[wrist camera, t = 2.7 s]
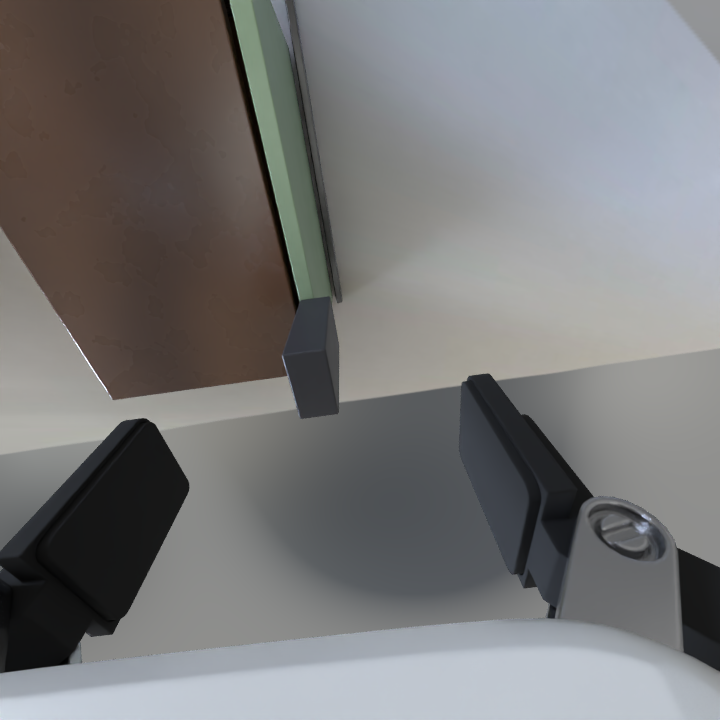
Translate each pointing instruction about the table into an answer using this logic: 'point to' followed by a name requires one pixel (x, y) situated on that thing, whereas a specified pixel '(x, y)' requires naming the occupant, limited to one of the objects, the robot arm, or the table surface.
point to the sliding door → (292, 208)
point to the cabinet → (147, 189)
